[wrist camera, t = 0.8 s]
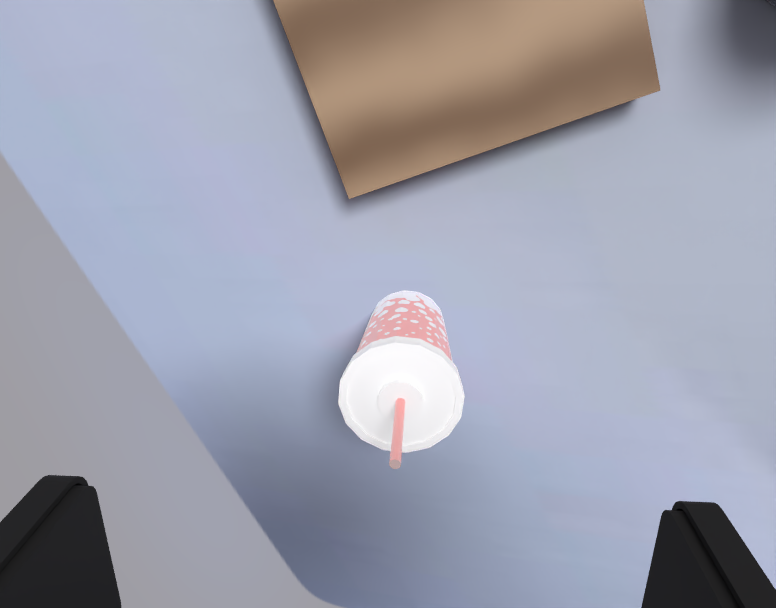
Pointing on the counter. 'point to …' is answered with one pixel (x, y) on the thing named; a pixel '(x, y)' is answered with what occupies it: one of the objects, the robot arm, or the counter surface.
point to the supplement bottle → (772, 2)
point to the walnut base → (459, 75)
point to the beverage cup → (402, 378)
